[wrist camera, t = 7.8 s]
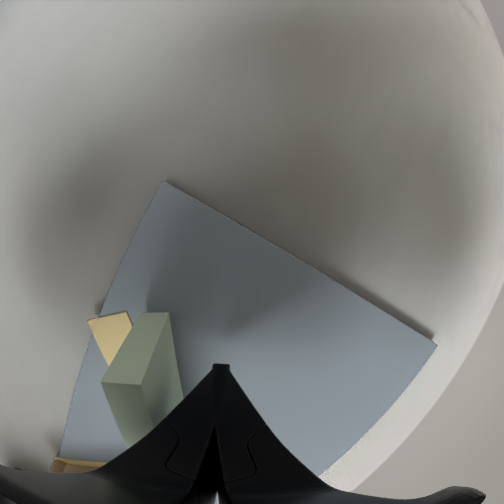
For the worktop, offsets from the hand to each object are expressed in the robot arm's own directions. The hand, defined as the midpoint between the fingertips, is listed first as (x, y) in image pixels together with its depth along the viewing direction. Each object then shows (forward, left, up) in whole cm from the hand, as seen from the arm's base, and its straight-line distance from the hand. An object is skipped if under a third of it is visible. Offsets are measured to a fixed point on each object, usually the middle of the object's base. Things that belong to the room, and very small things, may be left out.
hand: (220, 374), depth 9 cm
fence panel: (0, -3, -1) cm, 4 cm away
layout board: (+3, -6, -2) cm, 7 cm away
